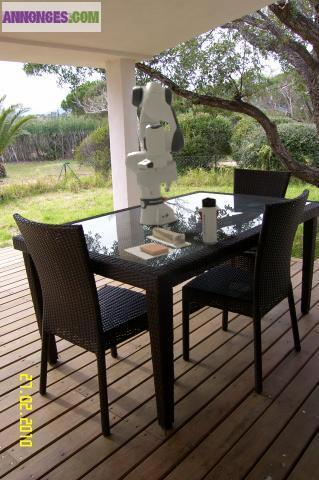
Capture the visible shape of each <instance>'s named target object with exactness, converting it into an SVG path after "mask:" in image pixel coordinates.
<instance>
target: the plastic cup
mask: <svg viewBox="0 0 319 480" xmlns="http://www.w3.org/2000/svg"><path fill="white" fill-rule="evenodd" d="M220 209H221V208H220V207H219V206H216V219H217V220H218V219H219V218H218V216H219V210H220ZM197 213H198V214H199V218H200V224H202V207H201V208H199V209H198V208H197Z"/></svg>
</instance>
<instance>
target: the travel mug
mask: <svg viewBox="0 0 319 480" xmlns="http://www.w3.org/2000/svg"><path fill="white" fill-rule="evenodd" d="M216 207H217V199H216V198H214V197H209V196H207V197H204V198H202V199H201V208H202V223H201V226H202V243H203V244H204V245H209V246H210V245H215V244H217V243H218V236H217V232H218V231H217V230H218V227H217V226H218V224H217V223H218V218H217V219H216Z"/></svg>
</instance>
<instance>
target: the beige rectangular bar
mask: <svg viewBox="0 0 319 480" xmlns="http://www.w3.org/2000/svg"><path fill="white" fill-rule="evenodd" d="M152 235H153V237H156V238H159V239H161V240H164V241H167V242H170V243H173V245H178V244H182V243H185V242H186V235H185V233H179V232H178V233H177V232H175V231H171V230H167V229H165V228H162V227H154V228H153V227H152Z"/></svg>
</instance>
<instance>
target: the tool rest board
mask: <svg viewBox="0 0 319 480" xmlns="http://www.w3.org/2000/svg"><path fill="white" fill-rule="evenodd" d="M145 237H146V239H149V240H152V241H153V242H158V243H160V244H164V245H166V246H168V247H170V248H171V247H172V248H173V249H180V248H184V247H188V246H192V243H190V242H187V241H185V243H182V244H178V245H173V243H170V242H167V241H164V240H161V239H159V238H156V237H153V234H151V235H149V236H145Z"/></svg>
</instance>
